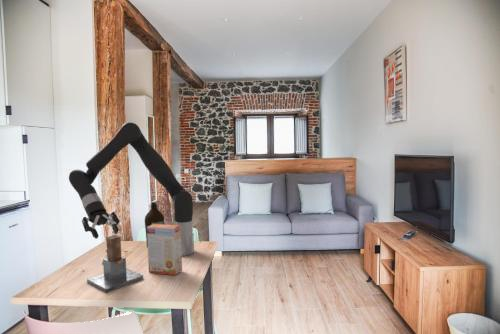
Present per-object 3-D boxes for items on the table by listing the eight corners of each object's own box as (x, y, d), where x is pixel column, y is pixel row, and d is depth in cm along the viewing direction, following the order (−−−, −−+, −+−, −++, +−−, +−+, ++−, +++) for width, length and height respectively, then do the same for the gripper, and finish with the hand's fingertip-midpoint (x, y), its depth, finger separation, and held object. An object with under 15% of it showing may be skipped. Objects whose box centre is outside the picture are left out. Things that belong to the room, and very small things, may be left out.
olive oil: (142, 245, 176) (140, 202, 174) (160, 241, 183) (158, 200, 181) (150, 250, 168) (148, 204, 166) (168, 245, 175) (166, 202, 174)
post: (117, 273, 133) (115, 235, 132) (122, 276, 130) (120, 236, 129) (107, 277, 129) (105, 237, 128) (113, 279, 127) (111, 239, 126)
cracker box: (182, 270, 139) (181, 224, 138) (175, 276, 133) (173, 228, 132) (156, 267, 144) (154, 223, 142) (148, 272, 138) (146, 226, 136)
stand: (123, 269, 141) (122, 249, 141) (143, 278, 131) (142, 256, 131) (87, 282, 129) (85, 260, 128) (106, 293, 119) (104, 268, 118)
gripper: (79, 202, 131) (92, 233, 125) (111, 198, 142) (126, 226, 136) (74, 213, 135) (87, 244, 128) (106, 208, 146) (120, 236, 139)
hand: (107, 235), depth 132 cm, fingers open, 8 cm apart
